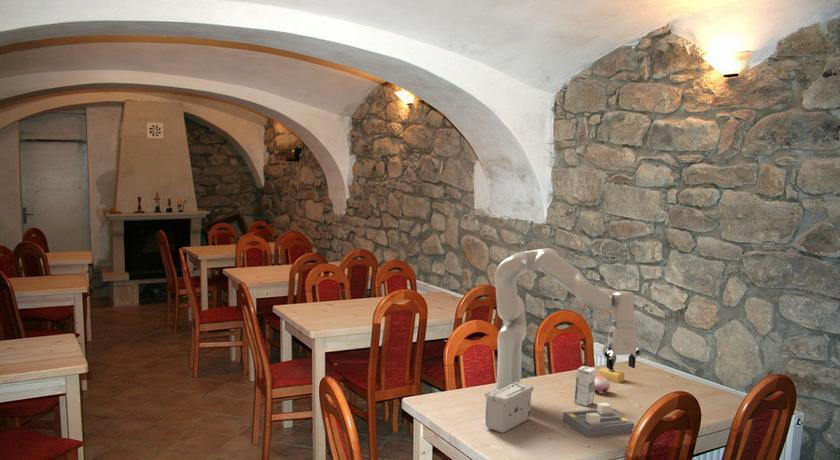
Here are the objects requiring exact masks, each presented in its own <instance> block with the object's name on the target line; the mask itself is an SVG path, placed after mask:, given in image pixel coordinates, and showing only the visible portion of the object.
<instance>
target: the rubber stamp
mask: <svg viewBox="0 0 840 460" xmlns="http://www.w3.org/2000/svg"><path fill="white" fill-rule="evenodd" d="M612 360H613V367H614V366H615V363H616V361H617V355H614V357H613V358H612ZM598 375H601V376H603V377H605V378H606V379H607V380H608V381H611V382H613V381H614V383H618V384H619V383H621V382H623V381H624V382H625V372H623V371H619V370H616V369H614V368H613V370H610V369H608V368H607V367H603V368H600V369H598Z"/></svg>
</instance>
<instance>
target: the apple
mask: <svg viewBox="0 0 840 460" xmlns="http://www.w3.org/2000/svg"><path fill="white" fill-rule="evenodd" d="M609 381H610V380H607V379H606V378H605V377H603V376H601V375H599V374H596V375H595V387H594V394H600V395H604V394H606V393H607V392H609V390H610V387H611V386H610V382H609Z"/></svg>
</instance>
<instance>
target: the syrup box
mask: <svg viewBox="0 0 840 460" xmlns="http://www.w3.org/2000/svg"><path fill="white" fill-rule="evenodd" d="M596 373H597V369H595V368H593V367H590V366H586V365H583V366H580V367H579V368H577V369H576V379H575V391H574V403H575V404H578V405H581V406H585V407H588V406H590V405H592V404H593V403H594V400H595V399H594V398H595V390H594V387H595V377H596V375H597V374H596Z"/></svg>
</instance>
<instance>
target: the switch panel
mask: <svg viewBox="0 0 840 460" xmlns="http://www.w3.org/2000/svg"><path fill="white" fill-rule="evenodd" d="M586 413H597V414H599V415H600V423H594V424H589V423H587V422H586ZM562 421H564V422H566V423H567V424H568V425H569V426H571V427H572V428H573V429H575V430H576V431H578V432H579V433H581V434H582V435H583V436H585V437H587V438H588V437H597V436H606V435H613V434H614V435H615V434H623V433H633V432H632V430H633V428H634V429H635V422H633V421H631V420H630V419H628V418H627V417H625V416H623V415H621V414H620V413H618V412H617V411H615V410H614V409H612V408H611V413H599V412H598V411H597V408H594V409H584V410H583V409H582V410H572V411H571V410H570V411H563V413H562Z"/></svg>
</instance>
